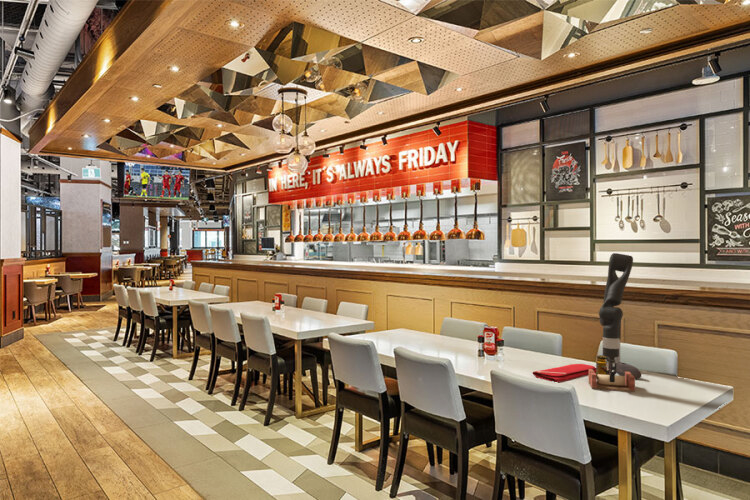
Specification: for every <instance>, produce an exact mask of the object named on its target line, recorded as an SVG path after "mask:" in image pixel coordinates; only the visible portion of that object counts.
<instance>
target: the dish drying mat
mask: <svg viewBox="0 0 750 500" xmlns="http://www.w3.org/2000/svg"><path fill="white" fill-rule="evenodd" d="M588 369H593V371H594V372H595V374H596V366H594V365H591V364H585V363H571V364H568V365H567V364H565V365H562V366H558V367H550V368H547V369H540V370H535V371H532V375H533V376H534V377H536V378H537V379H540V380H544V381H549V382H552V381H555V382H557V383H561V382H565V381H570V380H574V379H577V378H581V377H585V376H586V377H587V376H588ZM555 382H554V383H555Z"/></svg>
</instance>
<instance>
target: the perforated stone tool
mask: <svg viewBox="0 0 750 500" xmlns="http://www.w3.org/2000/svg"><path fill="white" fill-rule="evenodd" d="M625 371H627V372H630V373H631V374H632V375H633V376H634V377H635V380H637V379H641V378H642V371H641V370H640V369H639V368H637V367H636V366H634V365H632V364H630V363H629V364H628V363H626V362H622V361H620V362H617V363H616V374H618V376H624V377H625Z"/></svg>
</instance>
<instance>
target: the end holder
mask: <svg viewBox="0 0 750 500" xmlns="http://www.w3.org/2000/svg"><path fill="white" fill-rule="evenodd" d="M587 377H588V381H587V382H588V384H589V386H590V388H591V389H592V390H598V389H600V390H601V391H612V390H613V391H616V392H617V391H618V392H626V393H627V392H628V393H636V379H635V377H634V376H633V375H632V374H631V373H630V372H627V371H625V376H624V377H625V386H612V385H598V383H597V375H596V373H595V372H594V371H593V369H588V375H587Z"/></svg>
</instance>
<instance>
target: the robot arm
mask: <svg viewBox="0 0 750 500" xmlns="http://www.w3.org/2000/svg"><path fill="white" fill-rule="evenodd" d="M608 261H609V262H608V271H607V279H606V284H605V288H604V295H603V296H604V297H603V302H602V305H601V306H600V308H599V311H598V316H599V324H600V326H602V327H603V328H602V355H603V356H606V369H607V375H610V382H615V375H616V374H617V373H616V363H617V362H621V328H622V324H621V323H622V320H623V315H624V312H623V310H622V308H621V307H618V306H620V305H621V304H622V301H623V296H624V293H625V288H626V286H627V284H628V280H629V279H630V275H631V272H632V268H633V264H634V258H633V256H632V255H629V254H623V253H617V252H615V253H612V254H610V257H609V259H608ZM617 272H620V273H622V275H621V276H620V277H618V275H617Z"/></svg>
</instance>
